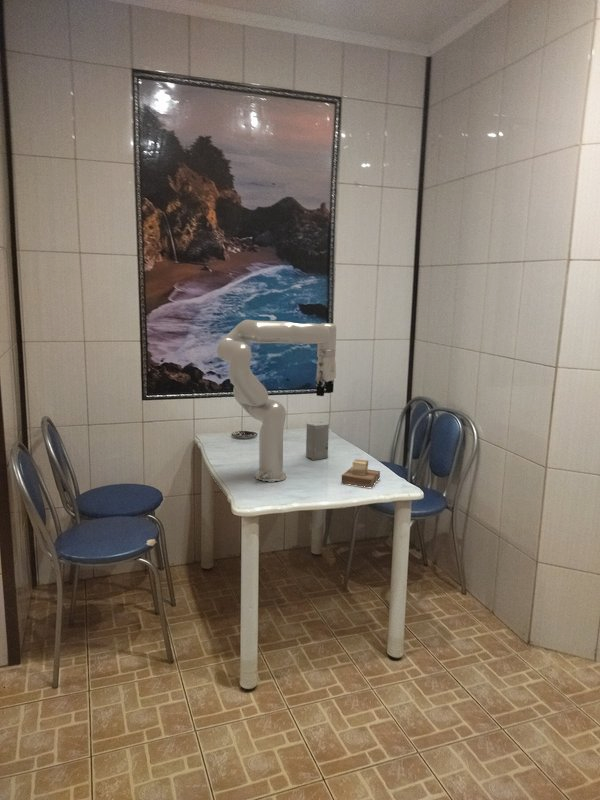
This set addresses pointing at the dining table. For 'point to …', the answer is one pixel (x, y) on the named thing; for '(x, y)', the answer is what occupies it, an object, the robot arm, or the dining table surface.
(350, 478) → the walnut block
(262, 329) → the robot arm
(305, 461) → the dining table surface
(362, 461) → the maple cube
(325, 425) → the skincare box
